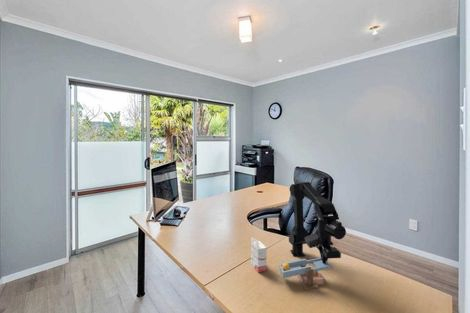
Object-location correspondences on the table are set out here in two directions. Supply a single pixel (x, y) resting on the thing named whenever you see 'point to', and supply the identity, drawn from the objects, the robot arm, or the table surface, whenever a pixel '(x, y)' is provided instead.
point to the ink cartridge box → (258, 255)
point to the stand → (309, 279)
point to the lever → (297, 270)
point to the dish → (317, 278)
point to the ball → (286, 266)
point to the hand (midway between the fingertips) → (323, 262)
